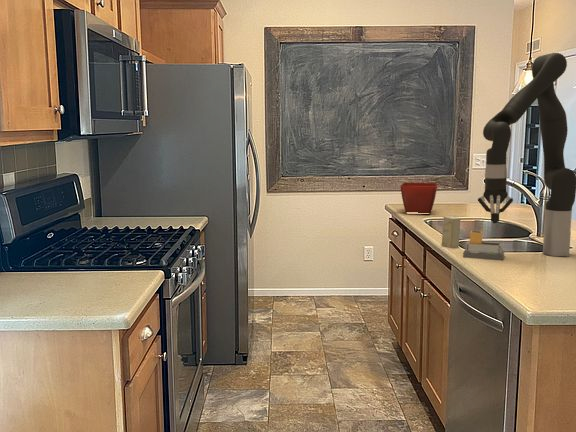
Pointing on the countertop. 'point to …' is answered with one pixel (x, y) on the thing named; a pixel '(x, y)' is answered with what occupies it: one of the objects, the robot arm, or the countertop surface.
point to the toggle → (476, 237)
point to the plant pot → (418, 196)
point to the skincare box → (451, 231)
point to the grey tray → (484, 250)
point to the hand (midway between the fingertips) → (494, 223)
